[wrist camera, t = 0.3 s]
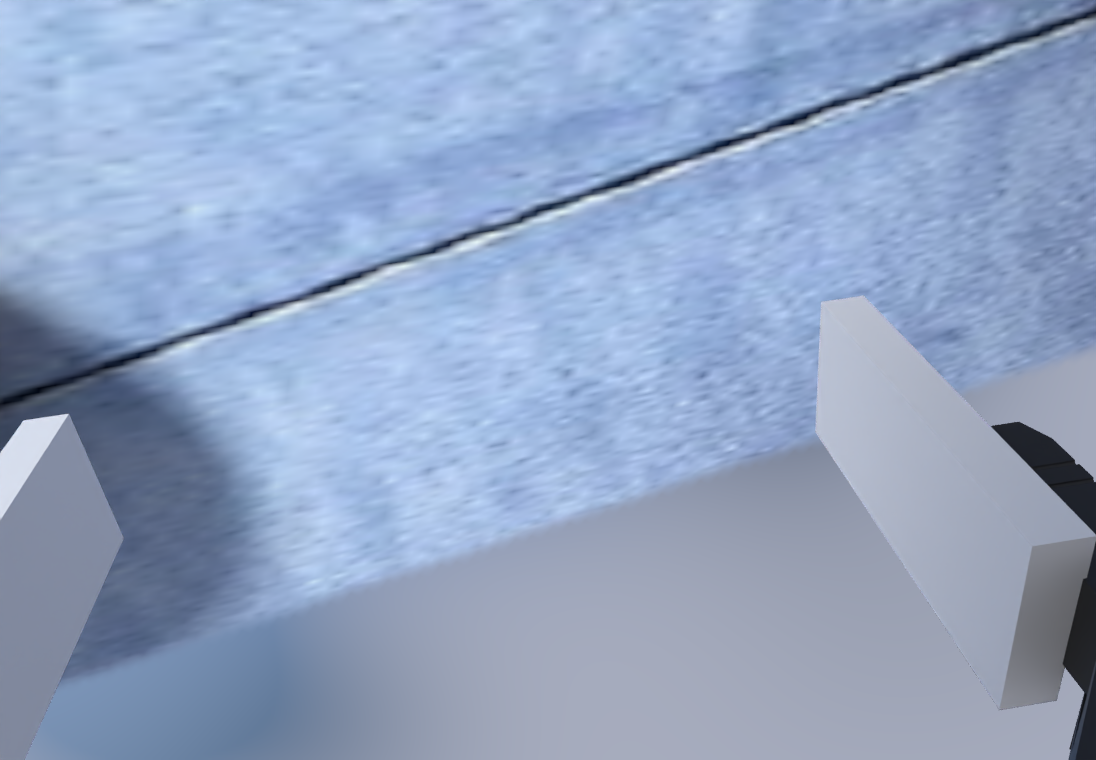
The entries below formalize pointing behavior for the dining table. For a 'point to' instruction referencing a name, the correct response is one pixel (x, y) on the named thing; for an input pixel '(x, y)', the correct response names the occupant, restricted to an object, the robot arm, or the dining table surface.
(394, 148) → the dining table surface
